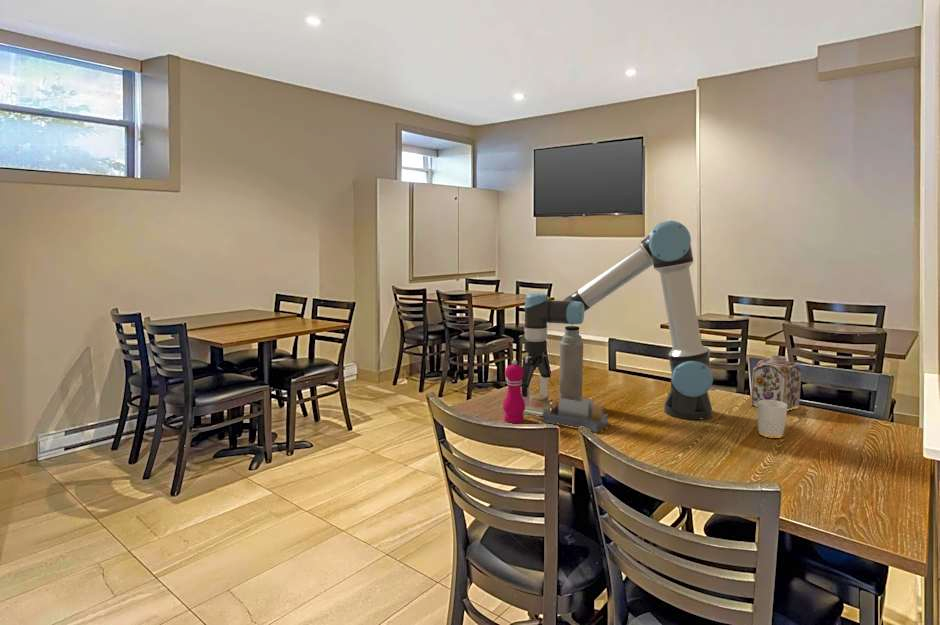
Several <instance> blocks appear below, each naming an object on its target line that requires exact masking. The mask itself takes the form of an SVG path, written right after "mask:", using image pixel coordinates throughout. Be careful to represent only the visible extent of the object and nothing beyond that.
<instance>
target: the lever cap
mask: <svg viewBox="0 0 940 625" xmlns="http://www.w3.org/2000/svg"><path fill="white" fill-rule="evenodd" d="M550 402H553V398H551V397H549V395H547V396H546V395H540V393H539V394H538V393H537V394H535V395H534V394H530V406H525V409H528V410H533V411H539V412H545V411H546V410H548V409H550Z"/></svg>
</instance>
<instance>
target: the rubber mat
mask: <svg viewBox="0 0 940 625" xmlns="http://www.w3.org/2000/svg"><path fill="white" fill-rule="evenodd" d="M548 410H549V409H548ZM548 410H546V411H548ZM546 411H545V412H546ZM523 413H524V414H523ZM523 413H522V414H523V415H528V414H531V415H530V416H534V415H538V416H537V417H539V416H543V413H544V412H539V411H533V410H528V409H525V410H524V412H523Z"/></svg>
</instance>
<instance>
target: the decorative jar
mask: <svg viewBox="0 0 940 625" xmlns="http://www.w3.org/2000/svg"><path fill="white" fill-rule="evenodd" d="M751 379H752V380H751V390H750V391H751V392H750V404H751V405H755V406H758V401H760V400H776V401H780V402H784V403H786V404H787V405H788V408H787V409H790V408H792V407H795V406H800V400H801V399H800V397H801V384H802V370H801V368H800V367H799V366H798V365H797V364H796V363H795V362H793V361H790V360H789V361H788V360H787V358H786V356H782V355H771V356H770V359H769V358H768V359H767V358H766V359H762V360H759V361H758V362H757V364H755V366H754V367H753V371H752V378H751ZM751 405H750V406H751Z"/></svg>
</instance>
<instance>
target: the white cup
mask: <svg viewBox="0 0 940 625" xmlns="http://www.w3.org/2000/svg"><path fill="white" fill-rule="evenodd" d="M787 408H788V405H787V404H786V403H784V402H780V401H776V400H760V401H758V407H757V425H758V426H757V432H758V431H759V432H760V433H763V434H767V435H775V436H776V435H782V434H783V435H784V432H785V428H786V427H785V426H786V421H787V414H788V412H787Z"/></svg>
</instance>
